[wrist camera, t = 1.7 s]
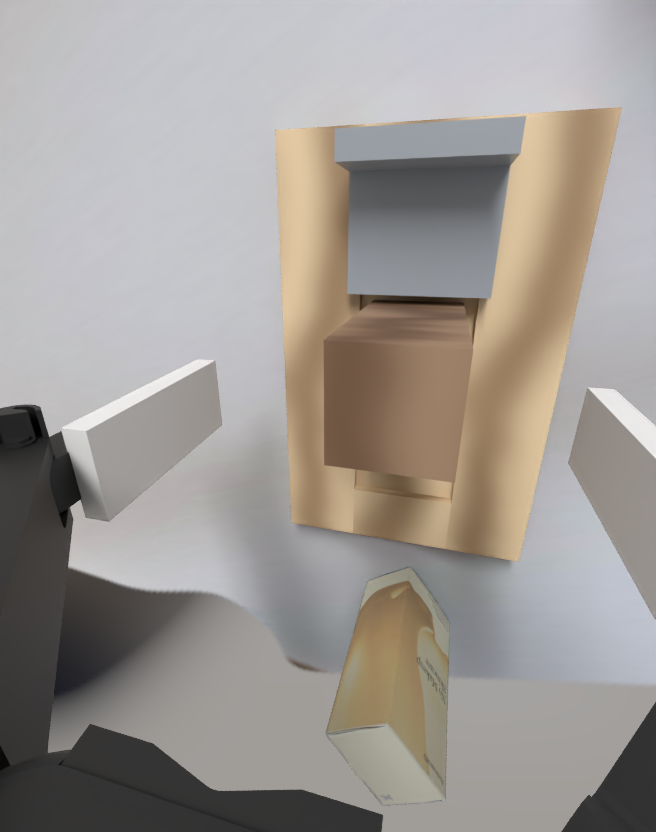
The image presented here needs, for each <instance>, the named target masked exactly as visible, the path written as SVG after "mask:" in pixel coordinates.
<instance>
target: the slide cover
mask: <svg viewBox="0 0 656 832" xmlns="http://www.w3.org/2000/svg"><path fill="white" fill-rule="evenodd" d="M525 121H526V116H519V117H504V118H489V119H473V120H458V121H443V122H427V123H412V124H396V125H381V126H366V127H350V128H335V144H334V162H335V163H337V164H338V165H340V166H341V167H343V168H344V169H346V170H347V171H349V226H348V283H347V294H366V295H397V296H427V297H458V298H489V299H491V295H492V288H493V281H494V274H495V267H496V261H497V254H498V247H499V240H500V233H501V227H502V220H503V213H504V206H505V200H506V193H507V186H508V179H509V172H510V166H511V164H512V163H513V162H514V161H515V159H516V158H517V157H518V156H519V155H520V153H521V147H522V140H523V134H524V127H525Z"/></svg>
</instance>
